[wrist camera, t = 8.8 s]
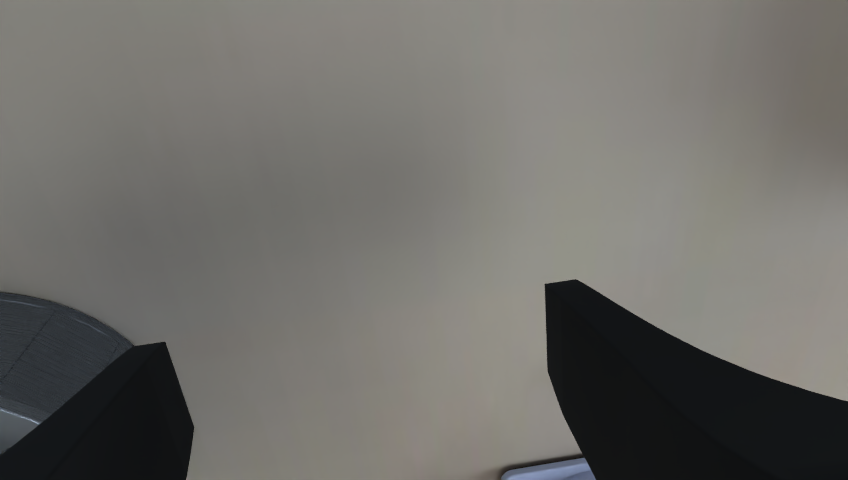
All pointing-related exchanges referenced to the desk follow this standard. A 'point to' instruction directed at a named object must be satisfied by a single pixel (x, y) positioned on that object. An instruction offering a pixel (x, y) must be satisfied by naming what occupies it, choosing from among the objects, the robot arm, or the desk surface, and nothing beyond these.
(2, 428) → the lid
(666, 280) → the desk surface
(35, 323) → the tin
